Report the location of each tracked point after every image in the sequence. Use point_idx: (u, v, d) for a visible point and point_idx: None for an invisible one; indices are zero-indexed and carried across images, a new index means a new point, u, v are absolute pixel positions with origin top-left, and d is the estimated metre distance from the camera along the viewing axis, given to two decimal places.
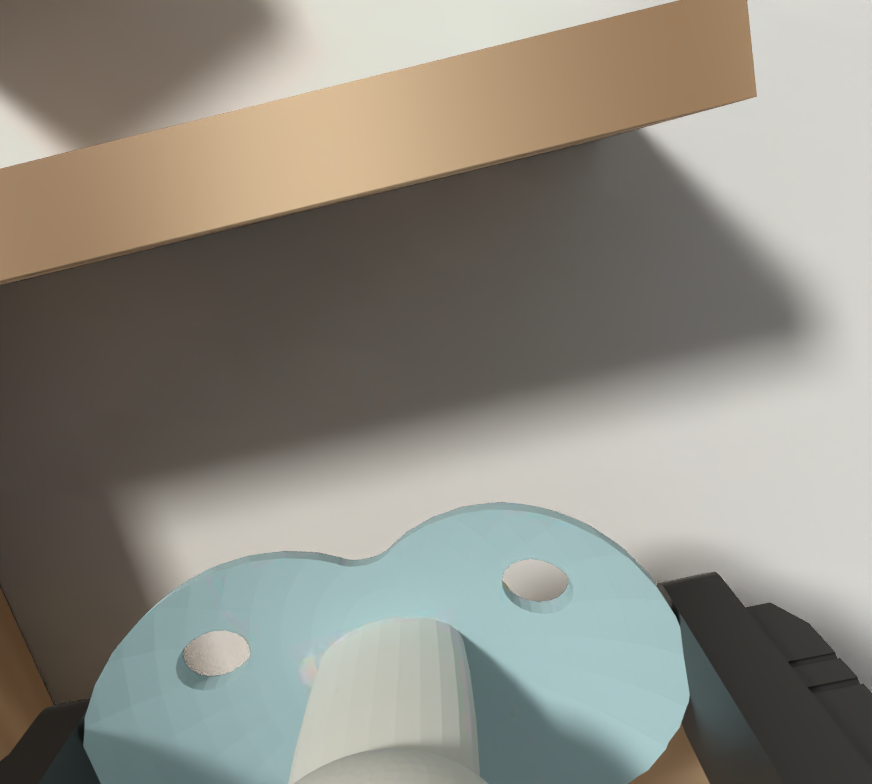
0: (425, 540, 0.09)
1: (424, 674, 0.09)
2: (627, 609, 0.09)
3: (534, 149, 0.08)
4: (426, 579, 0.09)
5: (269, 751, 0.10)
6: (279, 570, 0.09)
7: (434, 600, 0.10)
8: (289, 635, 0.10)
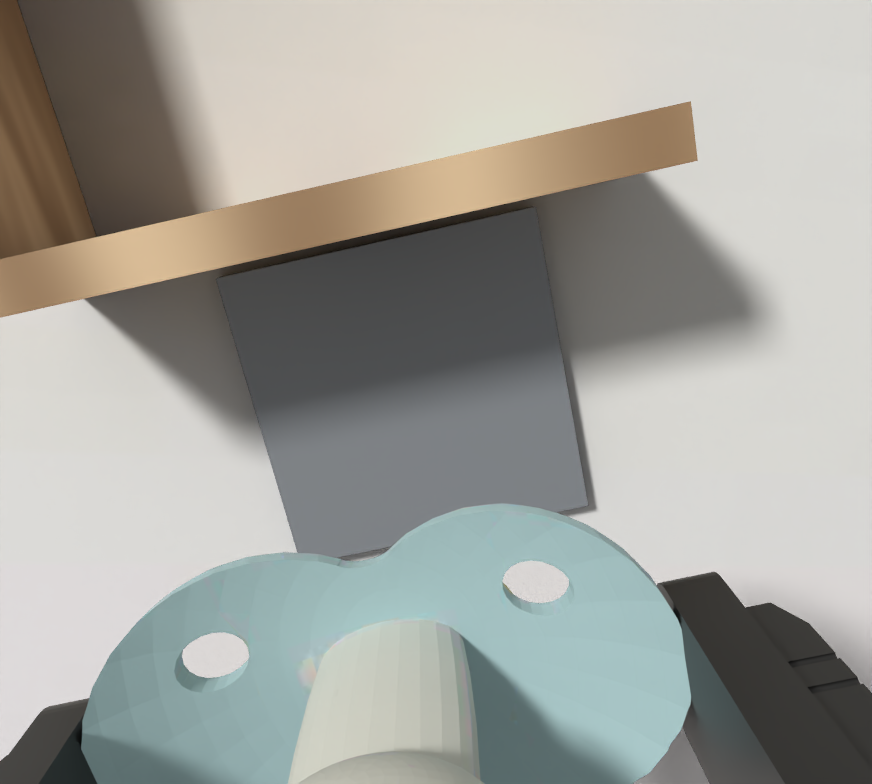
0: (426, 542, 0.09)
1: (424, 676, 0.08)
2: (628, 611, 0.09)
3: None
4: (426, 581, 0.09)
5: (268, 753, 0.10)
6: (278, 572, 0.09)
7: (433, 601, 0.10)
8: (288, 637, 0.10)
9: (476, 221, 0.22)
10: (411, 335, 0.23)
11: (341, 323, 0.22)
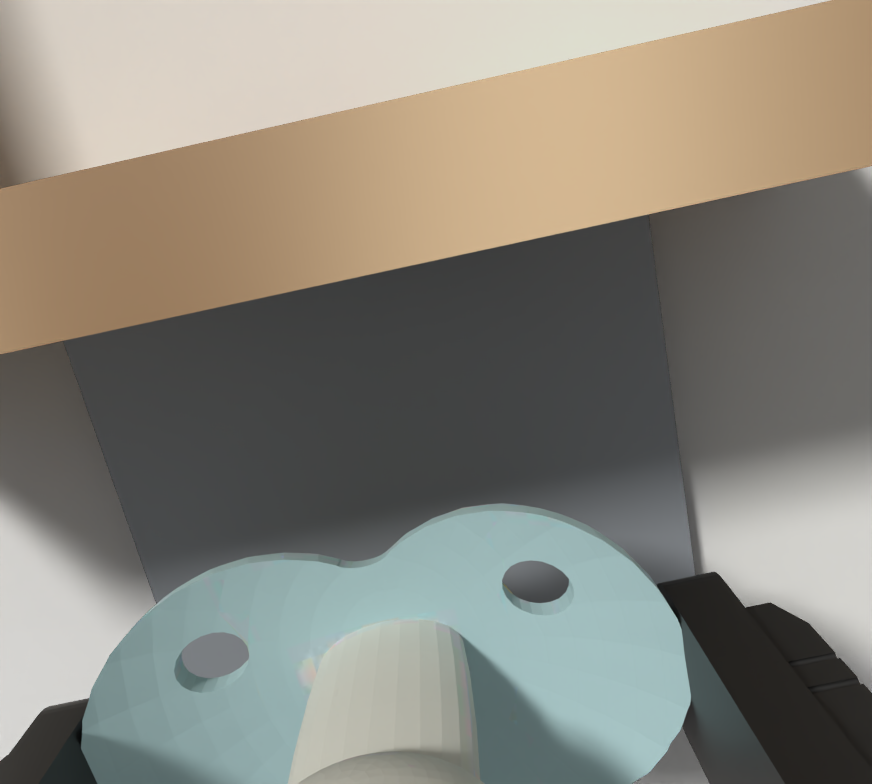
0: (425, 541, 0.09)
1: (424, 676, 0.08)
2: (628, 611, 0.09)
3: None
4: (426, 581, 0.09)
5: (268, 754, 0.10)
6: (278, 572, 0.09)
7: (433, 601, 0.10)
8: (288, 637, 0.10)
9: None
10: (416, 439, 0.13)
11: (291, 417, 0.13)
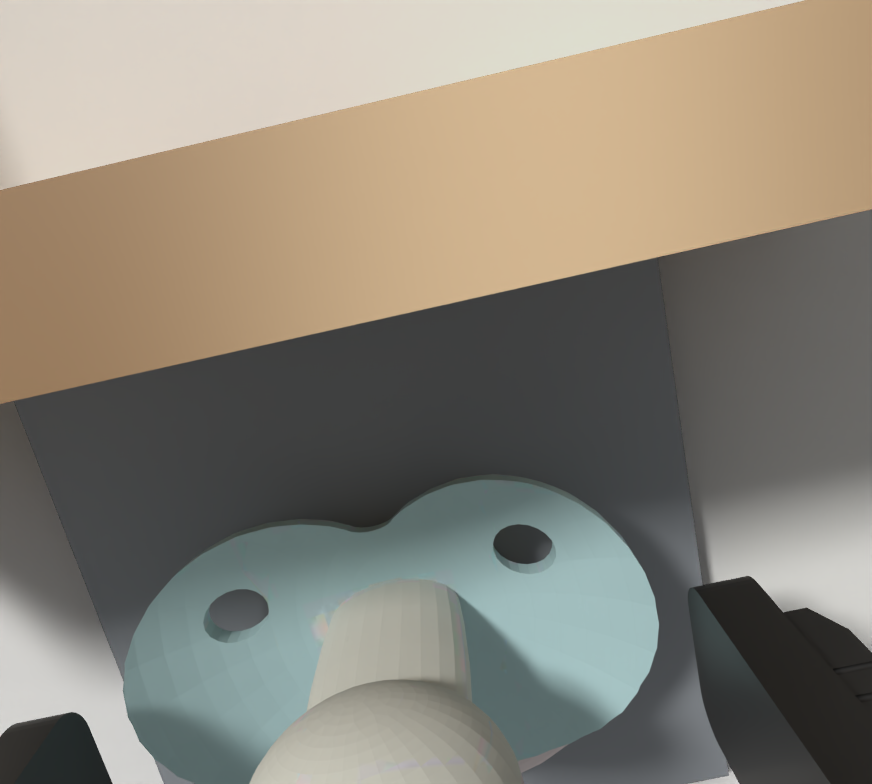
0: (425, 508, 0.10)
1: (424, 624, 0.10)
2: (603, 567, 0.10)
3: None
4: (425, 544, 0.11)
5: (285, 699, 0.11)
6: (294, 535, 0.10)
7: (432, 562, 0.11)
8: (303, 594, 0.11)
9: None
10: (399, 479, 0.11)
11: (260, 457, 0.11)
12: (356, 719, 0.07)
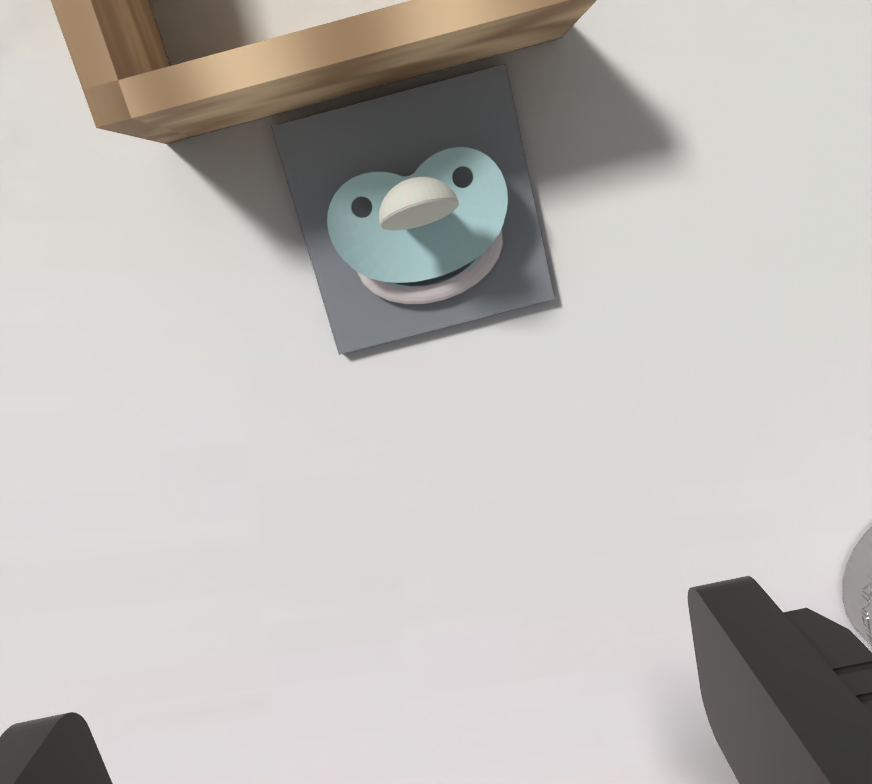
0: (427, 165, 0.29)
1: None
2: (488, 176, 0.29)
3: None
4: None
5: (378, 244, 0.30)
6: (381, 176, 0.29)
7: None
8: None
9: (462, 76, 0.30)
10: (417, 166, 0.30)
11: (365, 158, 0.30)
12: None
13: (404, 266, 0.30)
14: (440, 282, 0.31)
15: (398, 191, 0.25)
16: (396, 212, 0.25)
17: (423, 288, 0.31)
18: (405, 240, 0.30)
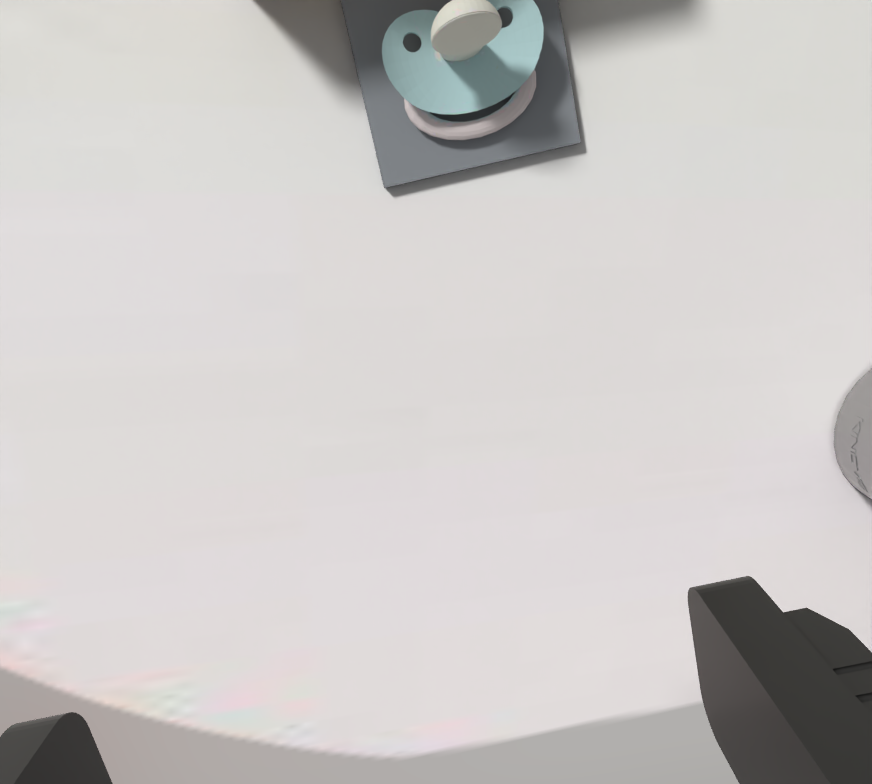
0: None
1: None
2: (527, 14, 0.32)
3: None
4: None
5: (425, 77, 0.33)
6: (431, 14, 0.33)
7: None
8: None
9: None
10: None
11: (415, 2, 0.34)
12: None
13: (447, 100, 0.34)
14: (478, 119, 0.35)
15: (450, 4, 0.29)
16: (448, 23, 0.29)
17: (463, 124, 0.34)
18: (449, 76, 0.34)
